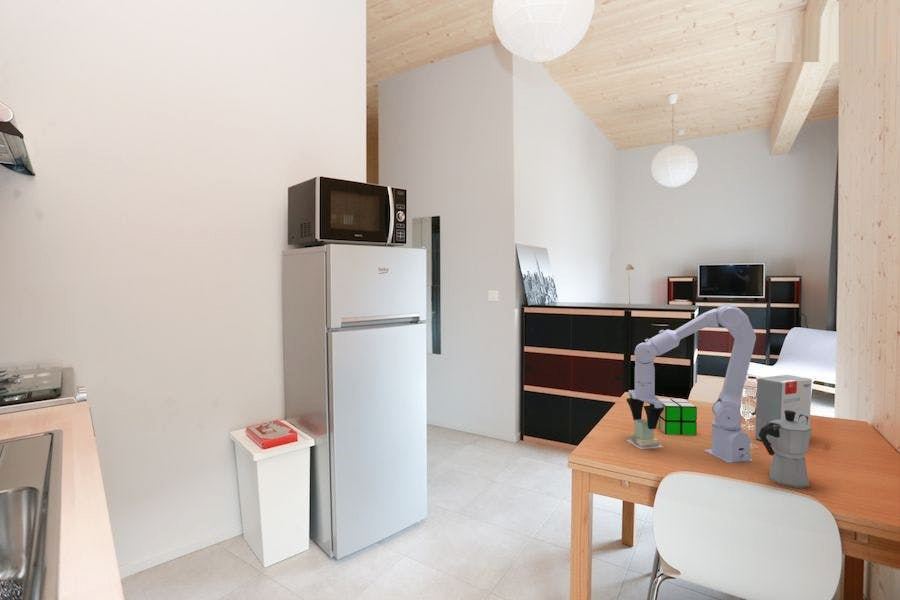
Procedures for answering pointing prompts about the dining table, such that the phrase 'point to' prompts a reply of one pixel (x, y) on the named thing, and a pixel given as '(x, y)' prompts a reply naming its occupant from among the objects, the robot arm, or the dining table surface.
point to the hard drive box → (782, 400)
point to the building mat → (643, 447)
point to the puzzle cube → (678, 417)
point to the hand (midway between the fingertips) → (644, 424)
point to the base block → (644, 441)
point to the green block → (643, 429)
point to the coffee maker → (787, 450)
